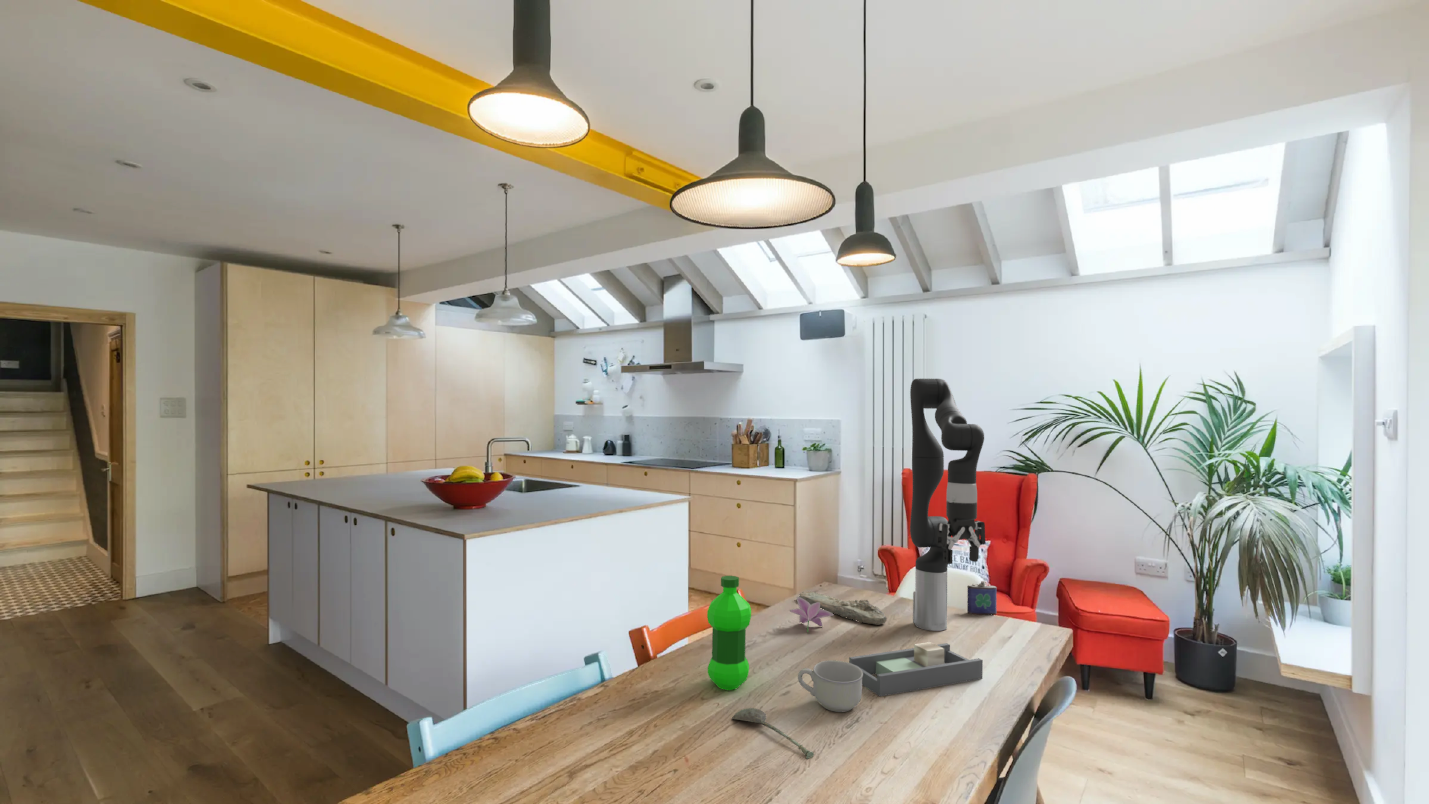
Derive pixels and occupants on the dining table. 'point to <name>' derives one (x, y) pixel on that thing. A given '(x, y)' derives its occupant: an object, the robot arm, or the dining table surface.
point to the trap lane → (913, 671)
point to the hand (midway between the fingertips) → (960, 562)
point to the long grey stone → (847, 608)
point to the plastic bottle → (729, 636)
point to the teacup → (834, 684)
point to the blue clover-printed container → (981, 599)
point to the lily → (810, 612)
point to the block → (928, 654)
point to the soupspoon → (760, 717)
